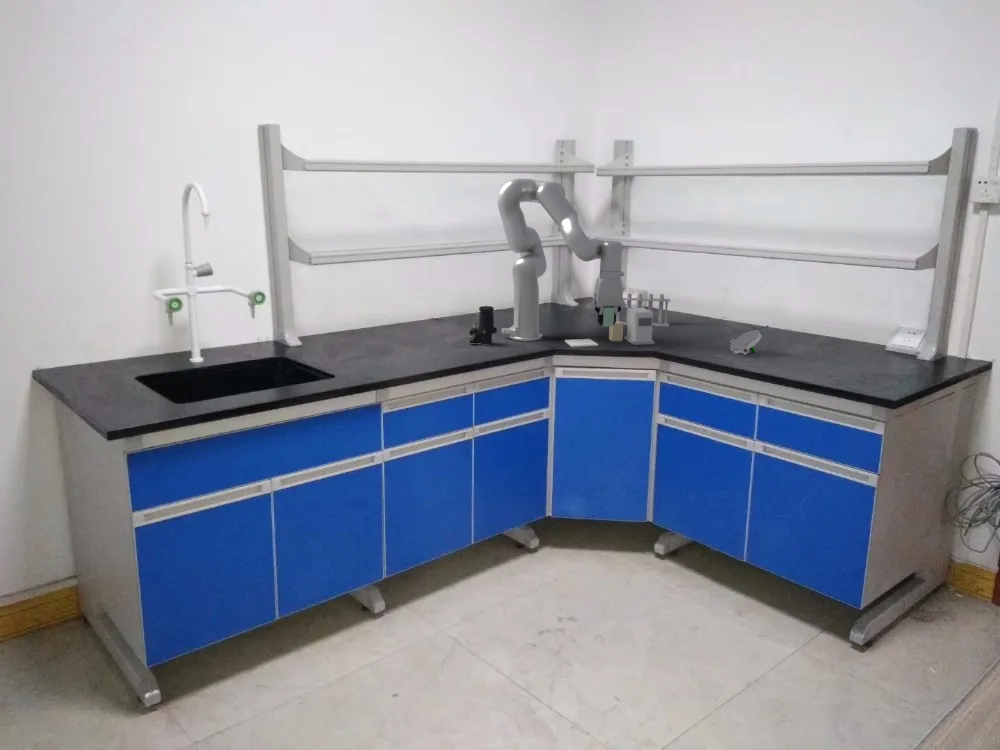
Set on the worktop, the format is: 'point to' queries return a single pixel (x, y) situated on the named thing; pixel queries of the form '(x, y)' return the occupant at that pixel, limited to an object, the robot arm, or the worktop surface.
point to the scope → (483, 326)
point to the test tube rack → (648, 307)
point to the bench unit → (639, 326)
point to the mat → (581, 343)
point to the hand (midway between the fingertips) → (606, 324)
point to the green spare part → (608, 316)
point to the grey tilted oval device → (745, 342)
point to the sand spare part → (616, 331)
